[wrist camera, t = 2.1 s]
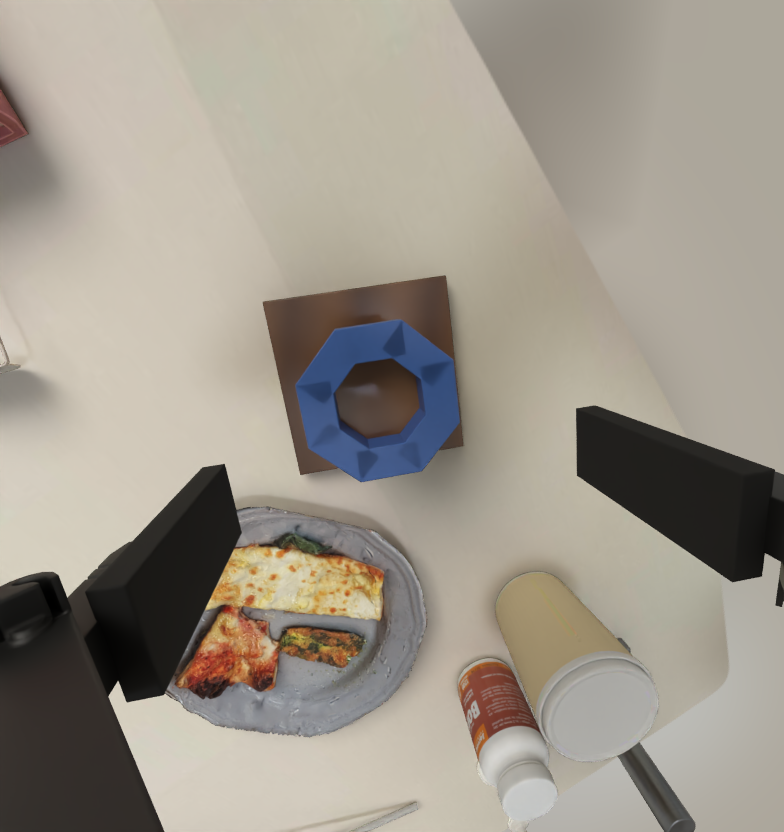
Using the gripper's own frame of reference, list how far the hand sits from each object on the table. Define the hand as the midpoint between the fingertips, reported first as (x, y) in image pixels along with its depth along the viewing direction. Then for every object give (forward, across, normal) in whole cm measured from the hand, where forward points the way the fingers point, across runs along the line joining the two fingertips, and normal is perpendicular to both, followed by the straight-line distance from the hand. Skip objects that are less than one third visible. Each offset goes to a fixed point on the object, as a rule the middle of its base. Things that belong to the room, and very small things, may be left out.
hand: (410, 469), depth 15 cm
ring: (+11, 0, +1) cm, 11 cm away
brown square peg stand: (+20, 0, +1) cm, 20 cm away
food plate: (+20, -11, -21) cm, 31 cm away
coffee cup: (+20, +13, -25) cm, 34 cm away
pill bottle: (+20, +7, -33) cm, 39 cm away
